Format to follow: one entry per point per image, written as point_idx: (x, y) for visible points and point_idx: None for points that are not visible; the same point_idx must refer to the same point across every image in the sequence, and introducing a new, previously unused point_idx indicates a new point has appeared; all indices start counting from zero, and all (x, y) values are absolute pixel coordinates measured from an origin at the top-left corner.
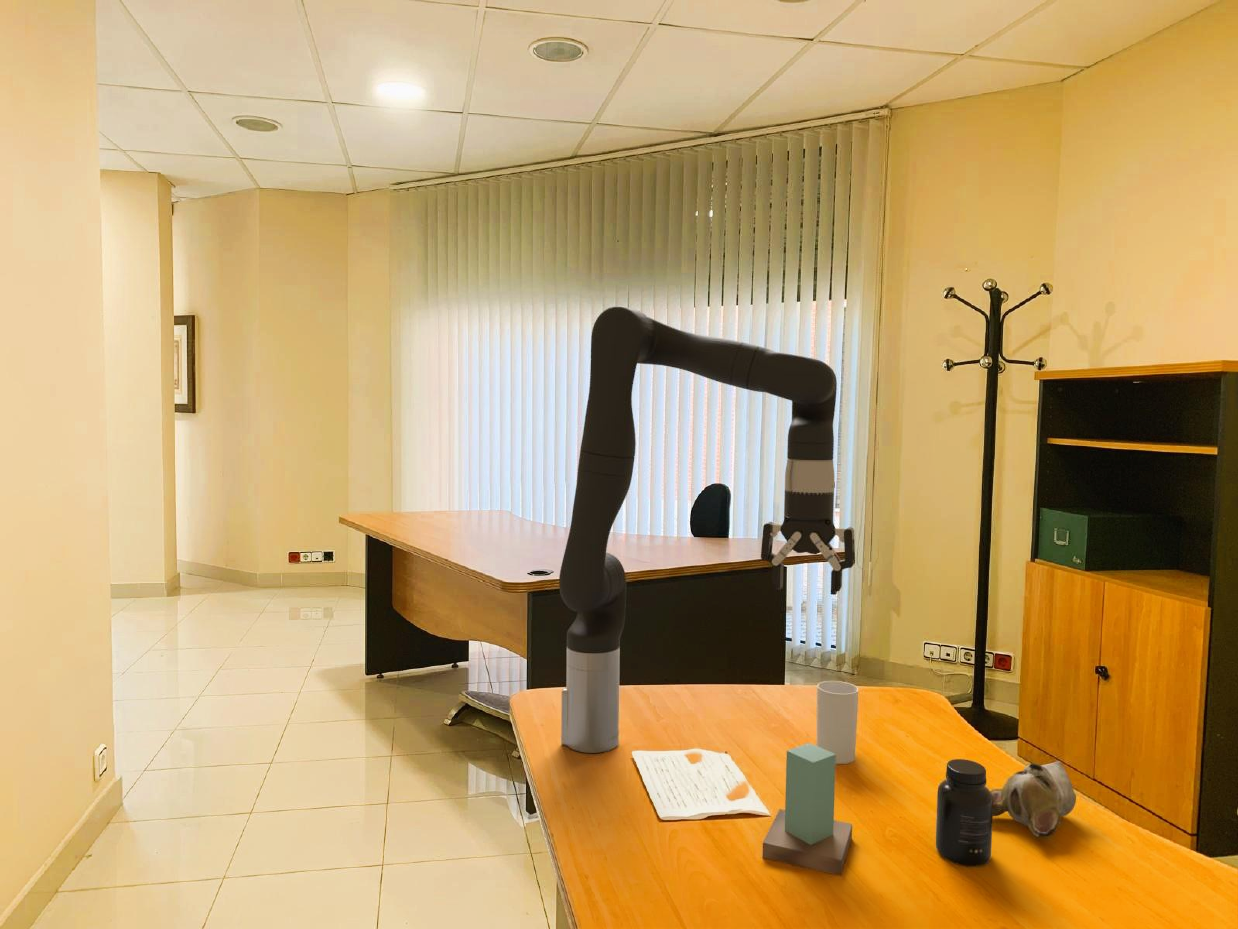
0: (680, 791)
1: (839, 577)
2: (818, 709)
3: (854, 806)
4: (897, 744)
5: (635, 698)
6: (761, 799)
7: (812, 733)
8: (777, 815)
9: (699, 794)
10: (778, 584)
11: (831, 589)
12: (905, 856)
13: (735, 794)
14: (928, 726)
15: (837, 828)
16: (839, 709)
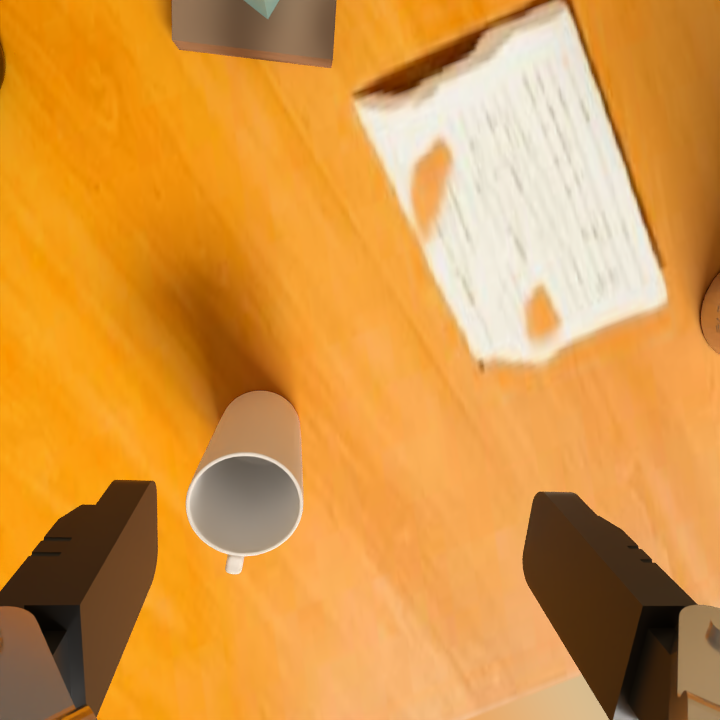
0: (544, 144)
1: (20, 584)
2: (295, 453)
3: (193, 203)
4: None
5: (698, 557)
6: (380, 166)
7: (322, 523)
8: (332, 24)
9: (505, 144)
10: (566, 502)
11: (137, 495)
12: (64, 5)
13: (435, 170)
14: None
15: (199, 3)
16: (237, 436)
